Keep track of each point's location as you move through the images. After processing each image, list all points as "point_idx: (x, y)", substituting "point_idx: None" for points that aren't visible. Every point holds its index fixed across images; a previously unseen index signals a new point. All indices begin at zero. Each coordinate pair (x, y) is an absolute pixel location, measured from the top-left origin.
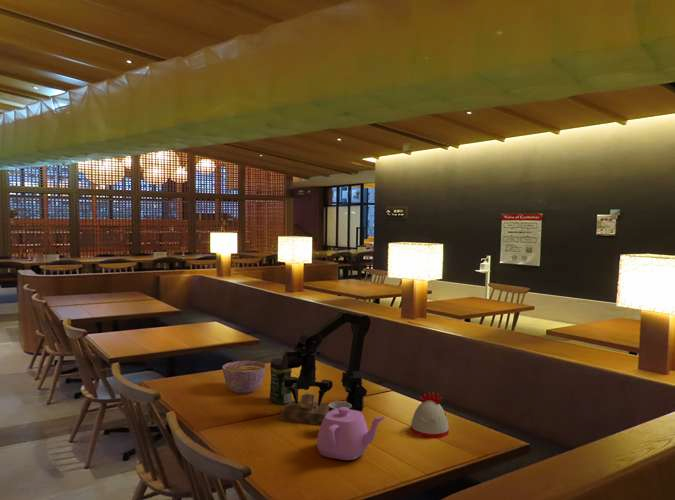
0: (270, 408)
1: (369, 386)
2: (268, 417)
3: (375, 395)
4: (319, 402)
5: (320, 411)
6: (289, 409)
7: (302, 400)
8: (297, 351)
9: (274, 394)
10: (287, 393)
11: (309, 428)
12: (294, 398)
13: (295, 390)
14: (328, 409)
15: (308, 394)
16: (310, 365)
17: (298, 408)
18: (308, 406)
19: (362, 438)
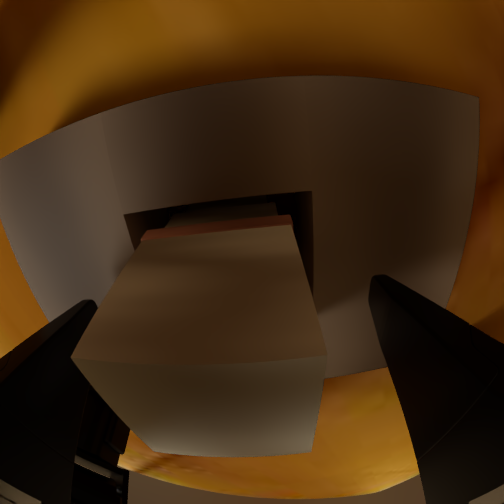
0: (494, 280)
1: (193, 484)
2: (496, 134)
3: (138, 462)
4: (51, 323)
5: (47, 225)
6: (414, 134)
7: (279, 287)
8: None
9: None
10: None
11: (107, 20)
12: (437, 308)
13: (484, 428)
14: (40, 296)
15: (218, 439)
16: None
17: (322, 209)
18: (175, 247)
19: None
